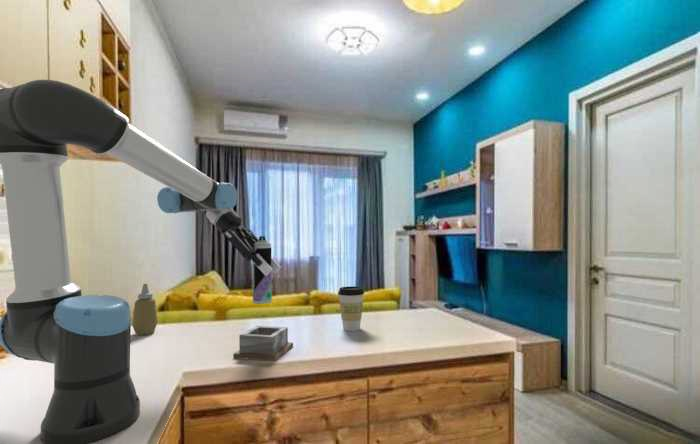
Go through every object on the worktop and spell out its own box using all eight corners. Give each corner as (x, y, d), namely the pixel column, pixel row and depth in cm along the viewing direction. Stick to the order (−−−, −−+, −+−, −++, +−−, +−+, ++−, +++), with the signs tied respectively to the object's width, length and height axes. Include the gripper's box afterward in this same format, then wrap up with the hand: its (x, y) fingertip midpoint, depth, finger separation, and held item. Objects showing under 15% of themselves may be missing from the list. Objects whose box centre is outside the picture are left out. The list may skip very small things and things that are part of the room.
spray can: (259, 304, 104) (259, 236, 105) (249, 302, 108) (249, 236, 108) (275, 301, 108) (275, 236, 109) (264, 299, 112) (264, 236, 112)
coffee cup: (355, 333, 125) (355, 290, 125) (333, 330, 130) (332, 288, 131) (369, 327, 133) (369, 287, 134) (347, 324, 138) (347, 285, 139)
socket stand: (275, 360, 99) (275, 338, 99) (233, 357, 102) (233, 336, 102) (293, 346, 112) (292, 326, 112) (255, 344, 115) (255, 324, 115)
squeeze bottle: (146, 337, 125) (146, 285, 126) (126, 336, 127) (126, 285, 127) (162, 330, 133) (162, 282, 133) (144, 329, 134) (144, 282, 135)
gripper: (232, 227, 121) (278, 276, 117) (198, 226, 103) (250, 284, 99) (247, 211, 120) (293, 260, 116) (215, 207, 102) (268, 265, 98)
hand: (273, 271), depth 107 cm, fingers closed on spray can, 5 cm apart
